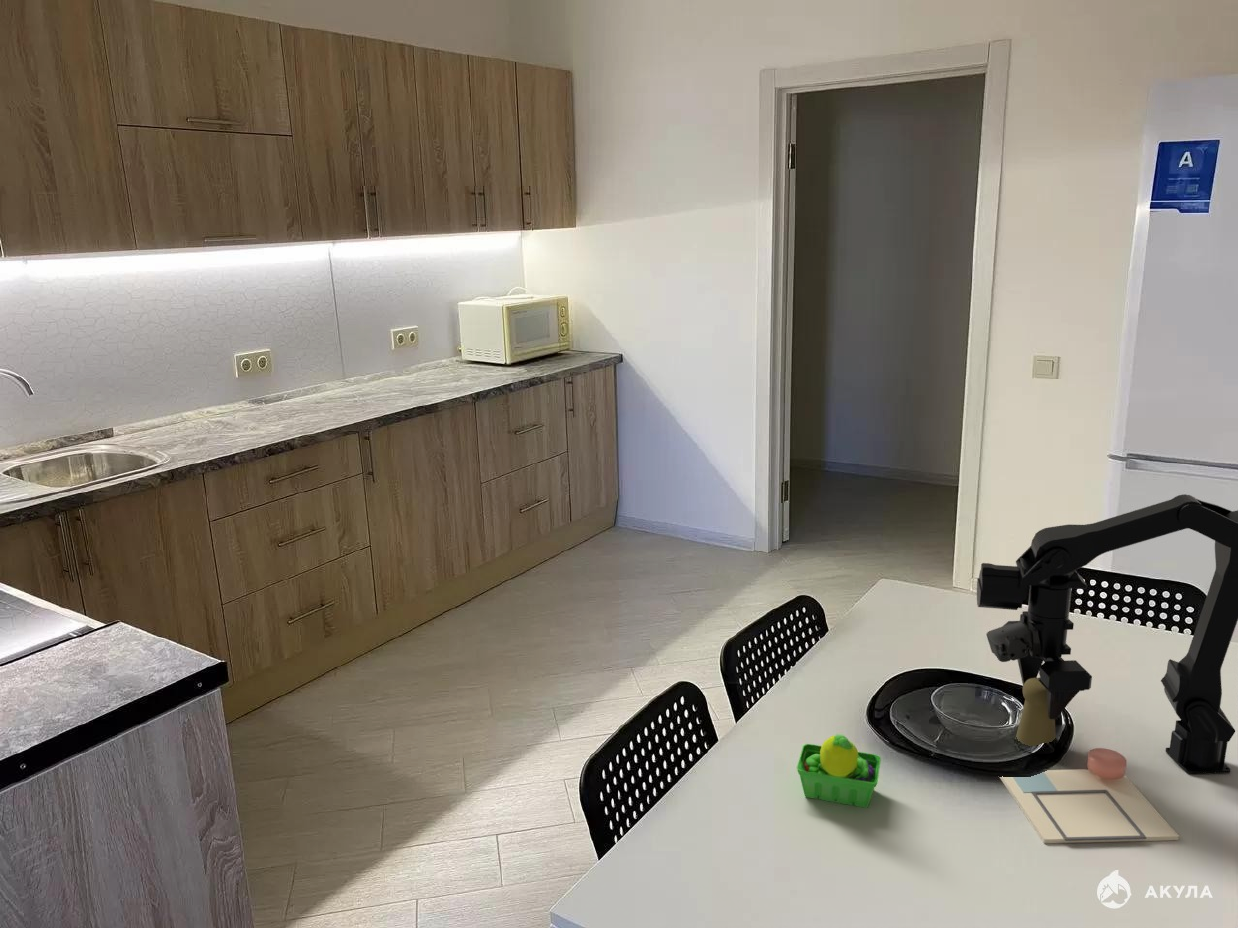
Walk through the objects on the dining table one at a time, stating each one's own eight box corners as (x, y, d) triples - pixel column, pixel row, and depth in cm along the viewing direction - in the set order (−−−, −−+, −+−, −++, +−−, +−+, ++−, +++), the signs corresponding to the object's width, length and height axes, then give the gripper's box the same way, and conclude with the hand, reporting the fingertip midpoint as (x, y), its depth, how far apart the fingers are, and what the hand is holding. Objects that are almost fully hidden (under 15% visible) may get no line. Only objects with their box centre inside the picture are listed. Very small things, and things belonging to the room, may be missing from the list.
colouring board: (1118, 771, 143) (1118, 766, 143) (1180, 841, 127) (1181, 836, 127) (998, 774, 143) (998, 769, 143) (1045, 845, 127) (1045, 839, 127)
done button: (1114, 759, 143) (1115, 747, 143) (1131, 778, 138) (1133, 766, 138) (1080, 760, 143) (1082, 748, 143) (1097, 779, 138) (1098, 767, 138)
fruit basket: (880, 784, 142) (883, 716, 139) (875, 820, 134) (878, 748, 131) (802, 772, 145) (804, 705, 142) (793, 805, 137) (795, 736, 134)
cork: (1060, 756, 147) (1067, 692, 145) (1019, 753, 149) (1024, 689, 146) (1051, 736, 153) (1057, 673, 150) (1011, 732, 154) (1017, 671, 151)
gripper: (973, 589, 154) (966, 676, 158) (1020, 639, 136) (1011, 736, 140) (1042, 587, 154) (1034, 674, 158) (1098, 637, 136) (1087, 734, 140)
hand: (1039, 703), depth 149 cm, fingers open, 9 cm apart
